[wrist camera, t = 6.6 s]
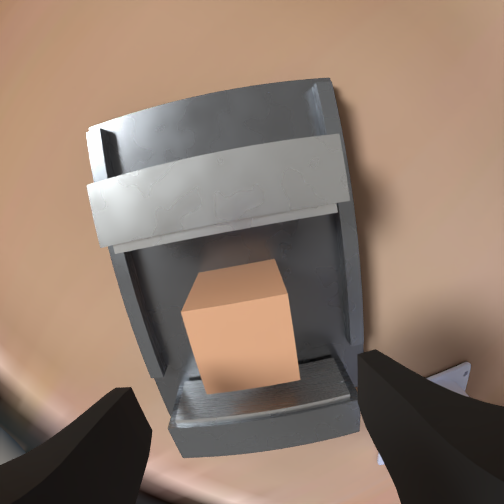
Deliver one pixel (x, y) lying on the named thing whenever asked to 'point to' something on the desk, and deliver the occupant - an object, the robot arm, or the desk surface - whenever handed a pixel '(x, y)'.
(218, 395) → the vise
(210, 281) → the block
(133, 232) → the moving jaw
